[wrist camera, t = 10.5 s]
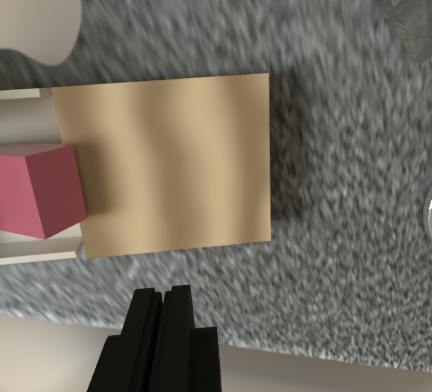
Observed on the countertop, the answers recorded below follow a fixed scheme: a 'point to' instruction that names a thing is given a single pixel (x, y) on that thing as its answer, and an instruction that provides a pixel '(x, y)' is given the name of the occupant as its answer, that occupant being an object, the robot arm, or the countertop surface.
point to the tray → (33, 133)
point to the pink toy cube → (39, 189)
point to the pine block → (170, 162)
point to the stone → (412, 25)
